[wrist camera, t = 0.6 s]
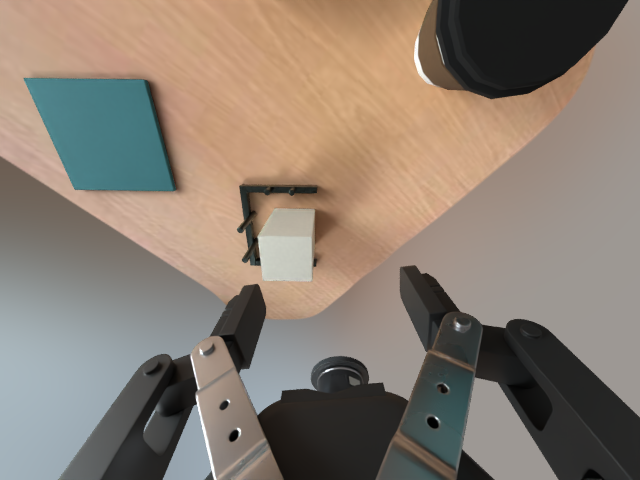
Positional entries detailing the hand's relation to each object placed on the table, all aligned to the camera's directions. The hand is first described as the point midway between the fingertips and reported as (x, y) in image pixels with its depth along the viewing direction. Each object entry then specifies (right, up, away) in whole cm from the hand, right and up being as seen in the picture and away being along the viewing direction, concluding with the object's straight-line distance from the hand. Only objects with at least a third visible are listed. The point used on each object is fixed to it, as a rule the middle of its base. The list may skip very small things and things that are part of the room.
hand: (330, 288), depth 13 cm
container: (-4, +5, +19) cm, 20 cm away
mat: (-26, +15, +14) cm, 33 cm away
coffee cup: (+12, +22, +11) cm, 28 cm away
